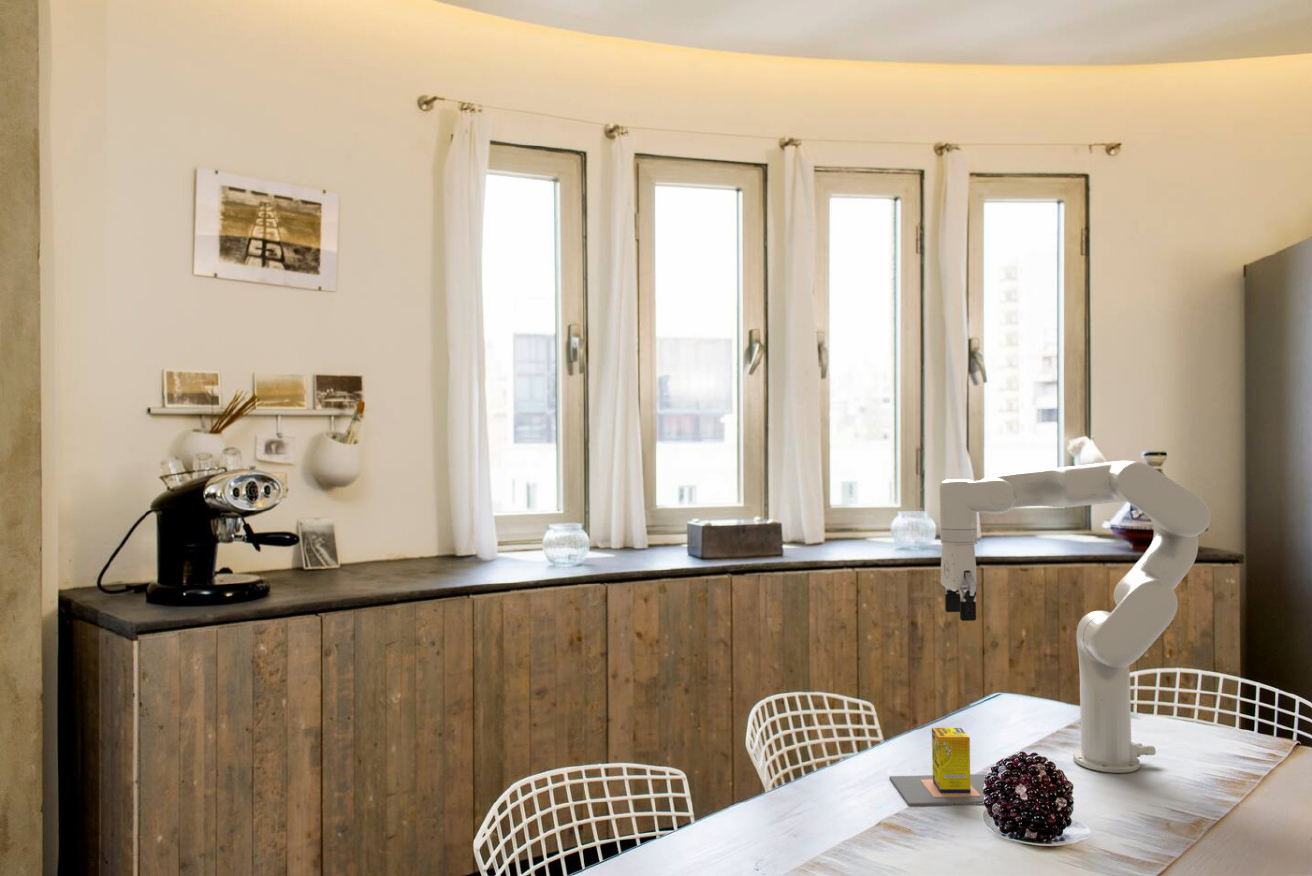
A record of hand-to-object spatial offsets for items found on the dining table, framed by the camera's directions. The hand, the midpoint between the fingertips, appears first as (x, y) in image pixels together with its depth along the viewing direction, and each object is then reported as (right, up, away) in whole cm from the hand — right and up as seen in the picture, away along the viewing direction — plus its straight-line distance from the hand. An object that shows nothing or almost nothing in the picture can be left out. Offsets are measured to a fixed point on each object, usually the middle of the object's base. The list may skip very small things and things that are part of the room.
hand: (960, 616), depth 202 cm
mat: (-8, -30, -19) cm, 37 cm away
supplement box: (-8, -30, -19) cm, 37 cm away
